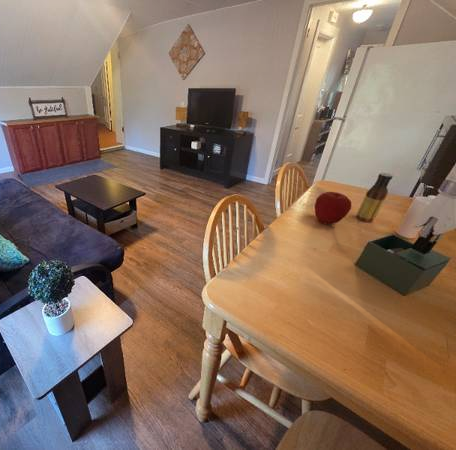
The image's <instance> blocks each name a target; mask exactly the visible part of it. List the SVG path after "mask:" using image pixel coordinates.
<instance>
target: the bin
mask: <svg viewBox="0 0 456 450" xmlns="http://www.w3.org/2000/svg"><path fill="white" fill-rule="evenodd" d="M413 245H414V243H413V242H411V241H409V240H406V238H405V239H404V238H403V237H401V236H399V235H396V234H394V233H392V234H388V235H386V236H382V237H379V238H375V239H372V240H369V241H367V243H366V245H365V246H364V248H363V250H362V251H361V253H360V254H359V257H358V258H357V261H356V262H355V264H354V266H355V267H357V268H358V269H360V270H362V271H363V272H365V273H367V274H368V275H369V276H372V277H373V278H374V279H376V280H378V281H379V282H381V283H383V285H386V286H387V287H389V288H390V289H392V290H393V291H395V292H396V293H398V294H400V295H401V296H403V297H405V296H409V295H410V294H412V293H415V292H417V291H419V290H421V289H424V288H426V287H428V286H430V285H431V284H432V283H433V282H434V281H435V279H436V278H437V277H438V276H439V274H440V273H441V272H442V271H443V269H444V268H445V267H446V266H447V265H448V264H449V263H450V260H448V261H445V262H443V263H440V264H437V265H435V266H432V267H430V268H427V269H423V268H421V267H419V266H415V265H414V264H412V263H410V262H408V261H406V260H404V259H402V258H400V257H398V256H396V255H394V254H393V253H391V252H389V251H387V250H390V249H396V248H402V249H404V250H407V249H409V248H412V246H413Z"/></svg>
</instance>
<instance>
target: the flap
mask: <svg viewBox="0 0 456 450" xmlns="http://www.w3.org/2000/svg"><path fill="white" fill-rule="evenodd" d="M396 255H398V256H400V257H402V258H404V259H406V260H408V261H410V262H412V263H413V264H415V265H417V266H419V267H421V268H423V269H427V268H430V267H432V266H435V265H437V264H440V263H443V262H445V261H448V260H449V261H451V259H452V257H450V256H447V255H445V254H443V253H441V252H439V251H436V250H434V249H433V248H432V249H431V251H430V252H429V253H427V254H422V253H420V252H418V251H416V250H414V249H412V248H409V249H407V250H404V251H401V252H398V253H396Z"/></svg>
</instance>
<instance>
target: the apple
mask: <svg viewBox="0 0 456 450" xmlns="http://www.w3.org/2000/svg"><path fill="white" fill-rule="evenodd" d="M351 210H352V201H351V200H350V198H349V197H348V196H347V195H345V194H342V193H340V192H337V191H336V192H335V191H326V192H322V193H320V194H319V195H318V196H317V197H316V200H315V203H314V214H315V218H316V219H317V220H318V222H320V223H321V224H323V225H334V224H337V223H339V222H340V221H342V220H343V219H344V218H346V217H347V215H348V214H349V213H350V212H351Z"/></svg>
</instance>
